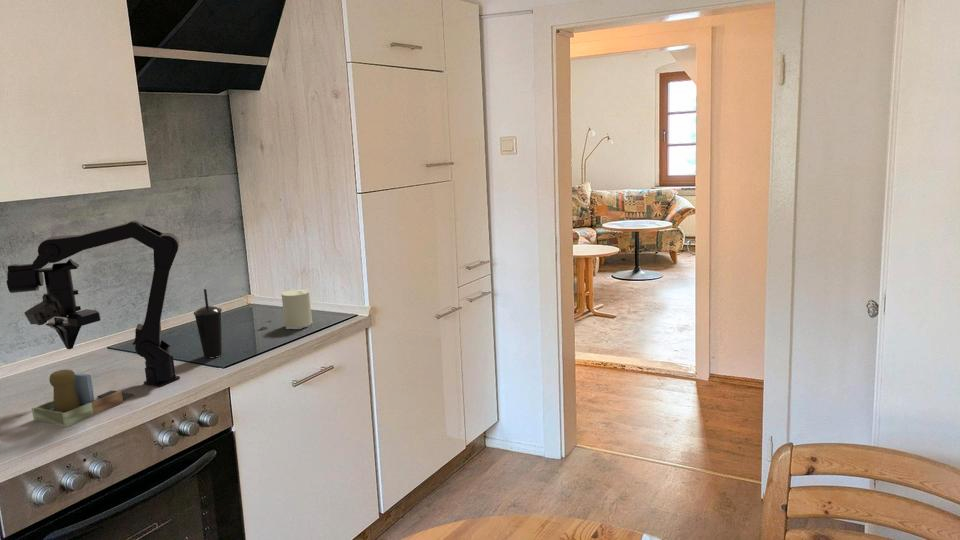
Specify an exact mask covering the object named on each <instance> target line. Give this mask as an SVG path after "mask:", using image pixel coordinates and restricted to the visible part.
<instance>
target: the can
mask: <svg viewBox="0 0 960 540" xmlns="http://www.w3.org/2000/svg"><path fill="white" fill-rule="evenodd" d="M310 292H311V291H310V290H309V289H305V288H304V289H299V288H298V289H291V290H285V291H283V292H281V294H280V295H281V302H282V310H283V311H282V312H283V313H282V314H283V319H284V320H283V323H284V326H286V327H302V326H307V325H310V324H311V323H313V318H312V307H311V296H310Z"/></svg>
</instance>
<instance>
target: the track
mask: <svg viewBox="0 0 960 540" xmlns="http://www.w3.org/2000/svg"><path fill="white" fill-rule="evenodd" d="M116 391H117V390H116ZM122 392H123V391H121V390H118V391H117V392H115V393H113V394H110V395H108V396H105V397H103V398H98V399H95V401H93V402H90V403H88V404H85V405H83V406H80V407H78V408H75V409H73V410H70V411H68V412H65V413H63V412H58V411H53V410H50V409H52V408H54V399H52V400H49V401H46V402H44V403H40V404H38V405H36V406H33V407H31V412H32V418H33V421H36V422H41V423H46V424H51V425H57V426H61V427H69V426H72V425H75V424H76V422H77V423H79V422H82V421H83V419H84V420H86V419H88V418H87V417H89V418H91V417H93V416H96V415H98V414H100V413H103V412H105V411H107V410H109V408H110V409H112V408H114V406H115V407H117V406H119V405H121V403H122V404H123V403H124V400H123V398H122ZM104 410H105V411H104ZM102 411H103V412H102ZM97 413H98V414H97ZM95 414H96V415H95ZM90 416H91V417H90ZM85 418H86V419H85Z"/></svg>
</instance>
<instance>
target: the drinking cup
mask: <svg viewBox="0 0 960 540" xmlns="http://www.w3.org/2000/svg"><path fill="white" fill-rule="evenodd" d="M207 292H208V291H207V289H206V288H205V289H204V288H203V294H204V302H205V306H202V307H201V308H199V309H196V310H195V311H194V312H193V315H194V318H195V322H196V326H197V330H198V335H199V339H200V344H201V349H202V354H203V357H204V358H205V357H206V358H205V359H208V358H210V357H216V356H219V355H221V354H222V355H223V350H222V349H223V347H222V311H223V309H222V307H217V306H212V305H211V306H210V305H209V301H208V293H207ZM222 355H221V356H222ZM210 359H211V358H210Z"/></svg>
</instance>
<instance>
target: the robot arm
mask: <svg viewBox="0 0 960 540" xmlns="http://www.w3.org/2000/svg"><path fill="white" fill-rule="evenodd" d="M127 239H128V240H129V239H134V240H136V241H138V242H139V243H141V244H143V245H144V246H146V247H148V248H150V249H151V250H153V269H154V270H153V274H152V280H151V286H150V291H149V297H148V301H147V307H146V314H145V319H144V322H143V324H141V323H137V325H136V327H135V330H134V333H135V337H134V339H133V342H132V345H133V346H135V347H134V350H135V352H136V353H137V355H138V356H140V357H141V358H143V359H144V360H145V361H144V363H145V368H144V373H145V379H146V380H145V381H143V384H144V385H151V386H158V387H162V386H165V385H167V384H169V383H172V382H175V381H177V380H179V379H181V376H180V375H176V371H175V362H174V355H170V354H171V348H172V346H171V345H170V344H169V343H168V342H166V341H164V340H163V339H162V322H161V321H162V320H161V319H162V314H163V309H164V305H165V303H164V302H165V299H166V298H165V297H166V293H167V286H168V283H169V282H168V280H169V276H170V273H171V272H170V271H171V268H172V266H173V263H174V260H175V258H176V256H177V254H178V253H177V252H178V250H179V247H180V240H179V239H178V237H177V236H176V235H175V234H174V233H171V232H164V233H163V232H161V231H159V230H157V229H155V228H152V227H150V226H148V225H145V224H143V223H141V222H140V221H138V220H130V221H129V222H126V223H122V224H118V225H113V226H110V227H106V228H105V227H104V228H103V229H98V230H94V231H90V232H86V233H83V234H73V235H72V234H70V235H68V234H67V235H57V236H51V237H48V238H46V239H45V240H43V241H41V242H40V243H39V245H38V247H37V256H36V258H35V260H33V261H32V263H26V264H17V263H16V264H9V265H8V266H7V268H6V269H7V277H6V279H7V280H6V286H7V290H8V291H9V293H10V294H17V293H27V292H36V291H40V287H43V286H44V282H45V288H46V293H44V294H42V296H41V297H42V301H41V302H39V303H37V304H35V305H34V306H32V307H30V308H29V309H28V310H26V311H25V312H24V316H25V317H26V319H27V320H28V322H29V323H30V325H32V326H33V325H37V326H43V325H45V326H46V327H50V328H51V329H54V330H55V332H56V334H57V335H58V336H59V338H60V339H61V341H62V343H63V345H64V347H65V348H66V349H67V350H73V348H74V346H75V343H76V341H77V338H78V335H79V332H80V331H81V328H82V327H83V326H86V325H90V324H93V323H96V322H100V321H101V314H100V312H99V311H98V310H96V309H88V308H86V309H82V308H81V305H77V303H76V295H79V290H78V289H74V283H73V276H72V270H77V269H78V268H79V267H80V264H78V263H77V262H75V261H74V260H73V259H72V258H69V257H72V256H74V255H76V254H78V253H80V252H82V251H86V250H89V249H92V248H97V247H101V246H105V245H109V244H113V243H116V242H121V241H124V240H127ZM67 258H69V259H68V260H67V261H66V262H60V261H62V260H65V259H67ZM48 264H52V266H51V267H45V266H46V265H48Z"/></svg>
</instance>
